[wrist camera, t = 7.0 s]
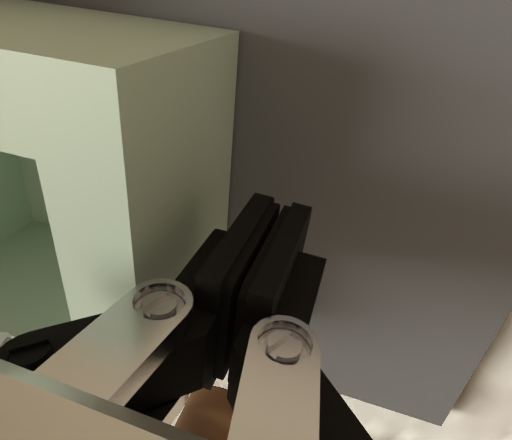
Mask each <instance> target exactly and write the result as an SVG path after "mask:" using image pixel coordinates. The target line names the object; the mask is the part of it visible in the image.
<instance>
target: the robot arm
mask: <svg viewBox="0 0 512 440" xmlns="http://www.w3.org/2000/svg"><path fill="white" fill-rule="evenodd" d="M279 211H280V204H278V203H274V197H271V196H267V195H263V194H259V193H254V194H253V196H252V197H251V198H250V200H249V201H248V203H247V204H246V205H245V207H244V208H243V210H242V211H241V212H240V214H239V215H238V217H237V218H236V219H235V221H234V222H233V224H232V225H231V226H230V228H229V229H228V231H225V230H221V229H214V230H213V231H212V233H211V234H210V235H209V236H208V238H207V239H206V240H205V242H204V243H203V244H202V245H201V247H200V248H199V249H198V251H197V252H196V253H195V254H194V256H193V257H192V258H191V260H190V261H189V262H188V264H187V265H186V266H185V267H184V269H183V270H182V271H181V273H180V274H179V275H178V276H177V278H176V279H175V280H172V279H163V278H159V279H151V280H148V281H145V282H142V283H140V284H138V285H137V286H135V287H134V288H132V289H131V290H130V291H129V292H128V293H126V294H125V295H124V296H123V297H122V298H120V299H119V300H118V301H117V302H116V303H114V304H113V305H112V306H111V307H110V308H109V309H107V310H106V311H105V312H104V313H101V314H97V315H93V316H89V317H85V318H81V319H77V320H73V321H69V322H65V323H61V324H57V325H53V326H49V327H45V328H41V329H37V330H33V331H29V332H26V333H24V334H21V335H18V336H16V337H14V338H11V334H10V333H9V332H1V331H0V440H208V439H205V438H203V437H200V436H197V435H195V434H192V433H190V432H187V431H185V430H182V429H180V428H177V427H175V426H172V425H171V424H172V422H173V421H174V420H175V418H176V417H177V415H178V414H179V413H180V411H181V410H182V409H183V407H184V406H185V404H186V402H187V400H188V398H189V394H190V393H192V392H195V391H198V390H201V389H202V388H205V389H207V390H210V391H211V388H212V386H213V384H214V382H215V380H216V378H218V379H221V380H223V379H224V378H225V376H226V374H227V371H228V369H229V374H228V382H229V383H228V391H227V400H228V402H229V404H230V406H231V408H232V410H233V416H232V420H231V425H230V429H229V434H228V438H227V440H373V439H372V438H371V437H370V435H369V434H368V433H367V431H366V430H365V428H364V427H363V426H362V424H361V423H360V422H359V420H358V419H357V418H356V416H355V415H354V413H353V412H352V411H351V409H350V408H349V407H348V405H347V404H346V402H345V401H344V400H343V398H342V397H341V396H340V394H339V393H338V392H337V390H336V389H335V387H334V386H333V385H332V383H331V382H330V381H329V379H328V378H327V377H326V375H325V374H324V372H323V371H322V370H321V368H320V365H321V347H320V341H319V338H318V336H317V335H316V333H315V331H314V330H313V329H312V328H311V327H310V326H309V324H310V320H311V316H312V313H313V309H314V305H315V302H316V298H317V294H318V290H319V287H320V283H321V279H322V275H323V272H324V268H325V264H326V260H327V259H326V258H322V257H318V256H315V255H311V254H308V253H304V252H303V249H304V244H305V240H306V235H307V231H308V226H309V222H310V217H311V212H312V207H311V206H307V205H303V204H299V203H295V202H293V203H292V205H291V207H290V206H286V205H284V207H283V208H282V210H281V212H280V214H279Z"/></svg>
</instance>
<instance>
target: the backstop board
mask: <svg viewBox="0 0 512 440" xmlns="http://www.w3.org/2000/svg"><path fill="white" fill-rule="evenodd" d="M30 1H36V2H43V3H50V4H57V5H64V6H71V7H78V8H85V9H92V10H99V11H106V12H113V13H120V14H127V15H133V16H140V17H147V18H154V19H161V20H168V21H175V22H182V23H189V24H196V25H203V26H210V27H217V28H223V29H230V30H237V31H239V45H238V61H237V77H236V92H235V108H234V124H233V140H232V156H231V172H230V188H229V204H228V219H227V231H228V229H229V228H230V226H231V225H232V224H233V222H234V221H235V219H236V218H237V217H238V215H239V214H240V212H241V211H242V210H243V208H244V207H245V205H246V204H247V203H248V201H249V200H250V198H251V197H252V196H253V194H254V193H259V194H263V195H267V196H271V197H274V203H278V204H280V211H279V214H280V212H281V210H282V208H283V207H284V205H286V206H290V207H291V205H292V203H293V202H295V203H299V204H303V205H307V206H311V207H312V212H311V217H310V222H309V226H308V231H307V235H306V240H305V244H304V249H303V252H304V253H308V254H311V255H315V256H318V257H322V258H326V259H327V260H326V264H325V268H324V272H323V275H322V279H321V283H320V287H319V290H318V294H317V298H316V302H315V305H314V309H313V313H312V316H311V320H310V324H309V326H310V327H311V328H312V329H313V330H314V331H315V333H316V335H317V336H318V338H319V341H320V347H321V365H320V368H321V370H322V371H323V372H324V374H325V375H326V377H327V378H328V379H329V381H330V382H331V383H332V385H333V386H334V387H335V389H336V390H337V392H338V393H339V394H343V395H346V396H349V397H352V398H355V399H358V400H361V401H364V402H367V403H371V404H374V405H377V406H380V407H383V408H386V409H389V410H392V411H395V412H398V413H402V414H405V415H408V416H411V417H414V418H417V419H420V420H423V421H426V422H429V423H433V424H436V425H439V426H442V424H443V422H444V421H445V419H446V417H447V416H448V414H449V412H450V411H451V409H452V407H453V406H454V404H455V402H456V401H457V399H458V397H459V396H460V394H461V392H462V391H463V389H464V387H465V386H466V384H467V382H468V381H469V379H470V377H471V376H472V374H473V372H474V371H475V369H476V367H477V366H478V364H479V363H480V361H481V359H482V358H483V356H484V354H485V353H486V351H487V349H488V348H489V346H490V344H491V343H492V341H493V339H494V338H495V336H496V334H497V333H498V331H499V329H500V328H501V326H502V324H503V323H504V321H505V319H506V318H507V316H508V314H509V313H510V311H511V309H512V0H30Z"/></svg>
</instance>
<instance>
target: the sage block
mask: <svg viewBox="0 0 512 440" xmlns="http://www.w3.org/2000/svg"><path fill="white" fill-rule="evenodd" d="M238 45H239V31H237V30H230V29H223V28H217V27H210V26H203V25H196V24H189V23H182V22H175V21H168V20H161V19H154V18H147V17H140V16H133V15H127V14H120V13H113V12H106V11H99V10H92V9H85V8H78V7H71V6H64V5H57V4H50V3H43V2H36V1H30V0H0V331H1V332H9V333H10V334H11V338H14V337H16V336H18V335H21V334H24V333H26V332H29V331H33V330H37V329H41V328H45V327H49V326H53V325H57V324H61V323H65V322H69V321H73V320H77V319H81V318H85V317H89V316H93V315H97V314H101V313H104V312H105V311H106V310H107V309H109V308H110V307H111V306H112V305H113V304H114V303H116V302H117V301H118V300H119V299H120V298H122V297H123V296H124V295H125V294H126V293H128V292H129V291H130V290H131V289H132V288H134V287H135V286H137V285H138V284H140V283H142V282H145V281H148V280H151V279H159V278H163V279H172V280H175V279H176V278H177V276H178V275H179V274H180V273H181V271H182V270H183V269H184V267H185V266H186V265H187V264H188V262H189V261H190V260H191V258H192V257H193V256H194V254H195V253H196V252H197V251H198V249H199V248H200V247H201V245H202V244H203V243H204V242H205V240H206V239H207V238H208V236H209V235H210V234H211V233H212V231H213V230H214V229H221V230H225V231H227V219H228V204H229V188H230V172H231V156H232V140H233V124H234V108H235V92H236V77H237V61H238Z"/></svg>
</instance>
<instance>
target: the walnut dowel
mask: <svg viewBox="0 0 512 440" xmlns="http://www.w3.org/2000/svg"><path fill="white" fill-rule="evenodd" d="M227 391H228V390H225V389H222V388H219V387H214V386H212V388H211V391H210V390H207V389H205V388H202V389H201V390H198V391H195V392H192V393H191V395H190V397H189V399H188V401H187V403H186V405H185V407H184V409H183V411H182V413H181V414H180V416H179V418H178V420H177V422H176V424H175V427H177V428H180V429H182V430H185V431H187V432H190V433H192V434H195V435H197V436H200V437H203V438H205V439H208V440H227V438H228V434H229V429H230V425H231V420H232V416H233V410H232V408H231V406H230V404H229V402H228V400H227Z"/></svg>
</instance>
